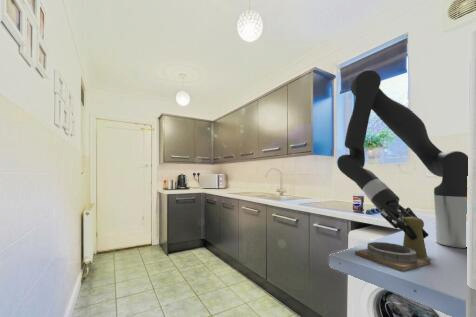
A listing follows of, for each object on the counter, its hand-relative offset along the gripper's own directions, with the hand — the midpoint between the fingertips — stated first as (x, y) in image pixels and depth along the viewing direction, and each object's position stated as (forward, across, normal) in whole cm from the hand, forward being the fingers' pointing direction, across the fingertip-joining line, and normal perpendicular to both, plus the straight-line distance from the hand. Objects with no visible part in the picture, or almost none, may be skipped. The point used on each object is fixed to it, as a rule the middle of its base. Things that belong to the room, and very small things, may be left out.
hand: (420, 237), depth 69 cm
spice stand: (+2, -12, +5) cm, 13 cm away
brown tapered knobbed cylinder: (+2, 0, +5) cm, 6 cm away
